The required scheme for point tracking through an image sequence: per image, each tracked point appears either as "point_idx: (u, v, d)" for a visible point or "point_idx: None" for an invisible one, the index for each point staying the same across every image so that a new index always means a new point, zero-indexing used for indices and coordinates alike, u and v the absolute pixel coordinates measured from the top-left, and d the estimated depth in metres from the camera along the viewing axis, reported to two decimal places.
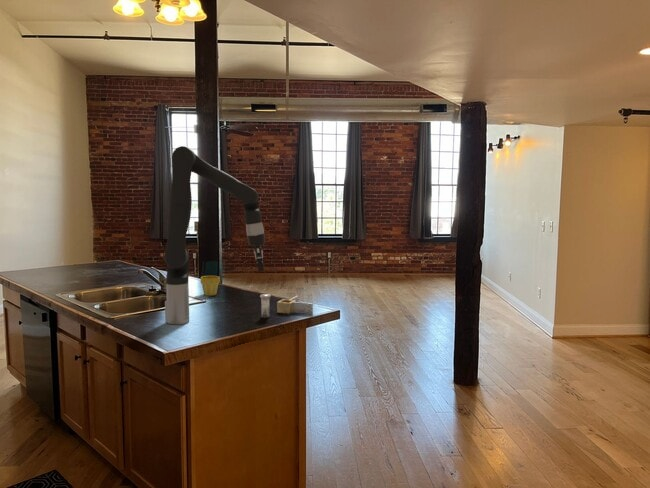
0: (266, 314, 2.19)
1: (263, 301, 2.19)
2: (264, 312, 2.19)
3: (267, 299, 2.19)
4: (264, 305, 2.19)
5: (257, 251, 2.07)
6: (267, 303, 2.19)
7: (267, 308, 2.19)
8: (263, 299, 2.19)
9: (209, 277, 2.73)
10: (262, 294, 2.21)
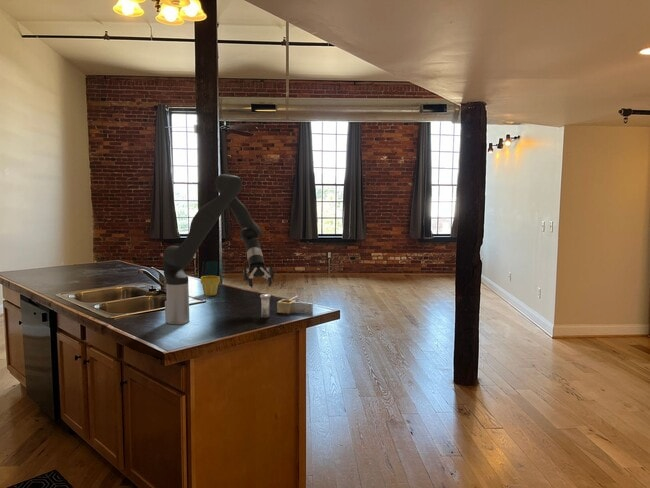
0: (266, 314, 2.19)
1: (263, 301, 2.19)
2: (264, 312, 2.19)
3: (267, 299, 2.19)
4: (264, 305, 2.19)
5: None
6: (267, 303, 2.19)
7: (267, 308, 2.19)
8: (263, 299, 2.19)
9: (209, 277, 2.73)
10: (262, 294, 2.21)
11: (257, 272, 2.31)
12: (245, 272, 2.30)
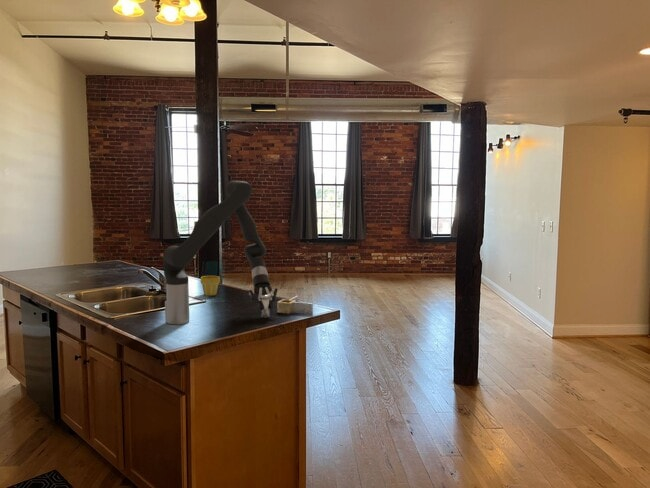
0: (266, 314, 2.19)
1: (263, 301, 2.19)
2: (264, 312, 2.19)
3: (267, 299, 2.19)
4: (264, 305, 2.19)
5: (276, 292, 2.26)
6: (267, 303, 2.19)
7: (267, 308, 2.19)
8: (263, 299, 2.19)
9: (209, 277, 2.73)
10: (262, 294, 2.21)
11: (263, 291, 2.23)
12: (253, 294, 2.21)
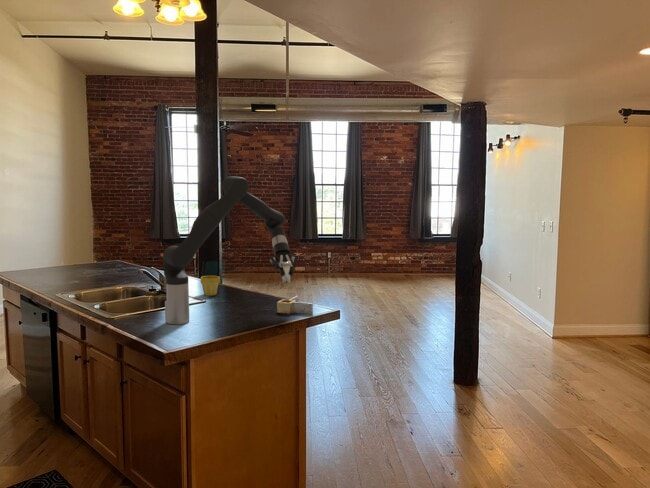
0: (287, 280, 2.27)
1: (284, 267, 2.27)
2: (285, 278, 2.27)
3: (288, 265, 2.27)
4: (285, 271, 2.27)
5: (296, 259, 2.34)
6: (288, 269, 2.27)
7: (288, 274, 2.28)
8: (284, 265, 2.27)
9: (209, 277, 2.73)
10: (283, 261, 2.30)
11: (284, 259, 2.31)
12: (274, 261, 2.29)
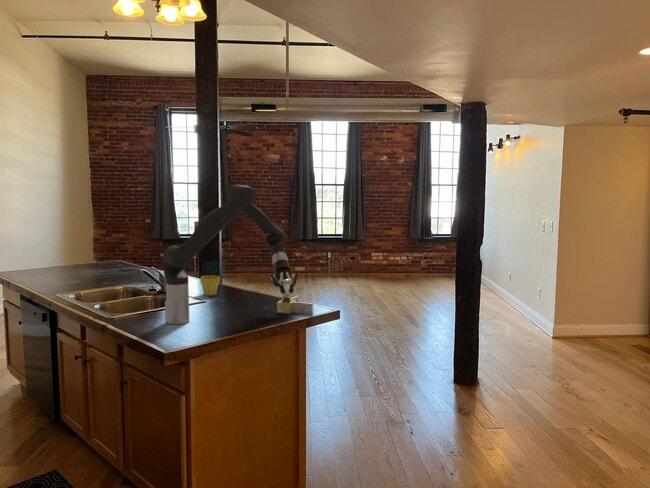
0: (287, 297, 2.28)
1: (284, 285, 2.28)
2: (285, 295, 2.28)
3: (288, 283, 2.28)
4: (285, 289, 2.28)
5: (296, 276, 2.35)
6: (288, 287, 2.28)
7: (288, 292, 2.28)
8: (284, 283, 2.28)
9: (209, 277, 2.73)
10: None
11: (284, 276, 2.32)
12: (274, 279, 2.30)
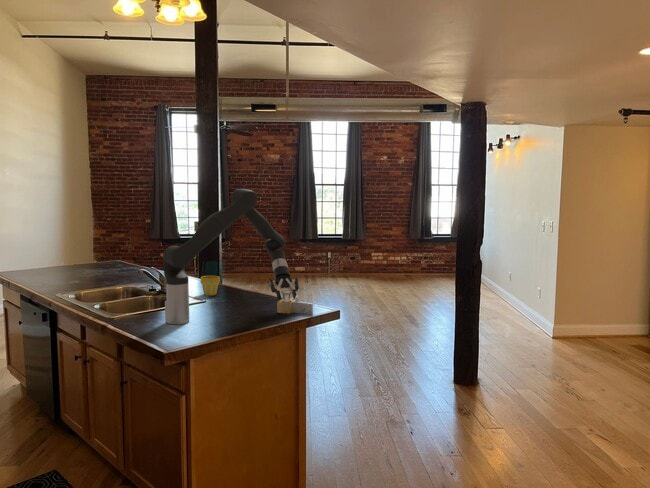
0: None
1: (284, 296, 2.29)
2: None
3: (288, 294, 2.29)
4: (285, 300, 2.29)
5: None
6: (288, 298, 2.29)
7: None
8: (284, 294, 2.29)
9: (209, 277, 2.73)
10: (283, 290, 2.31)
11: (283, 283, 2.32)
12: (272, 284, 2.30)
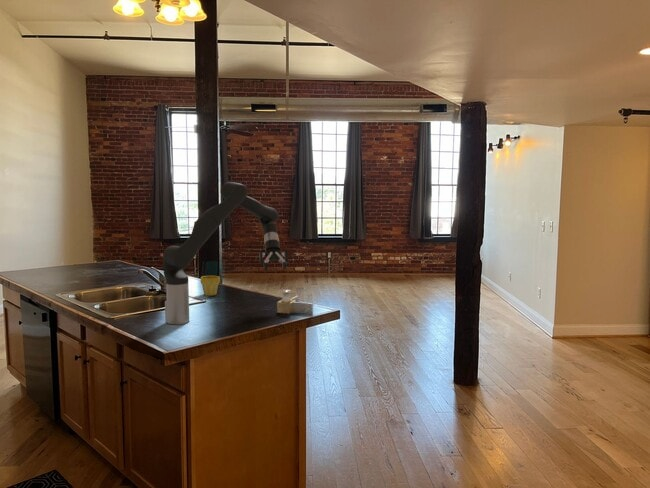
0: None
1: (284, 296, 2.29)
2: None
3: (288, 294, 2.29)
4: (285, 300, 2.29)
5: None
6: (288, 298, 2.29)
7: None
8: (284, 294, 2.29)
9: (209, 277, 2.73)
10: (283, 290, 2.32)
11: (272, 256, 2.41)
12: (261, 256, 2.40)
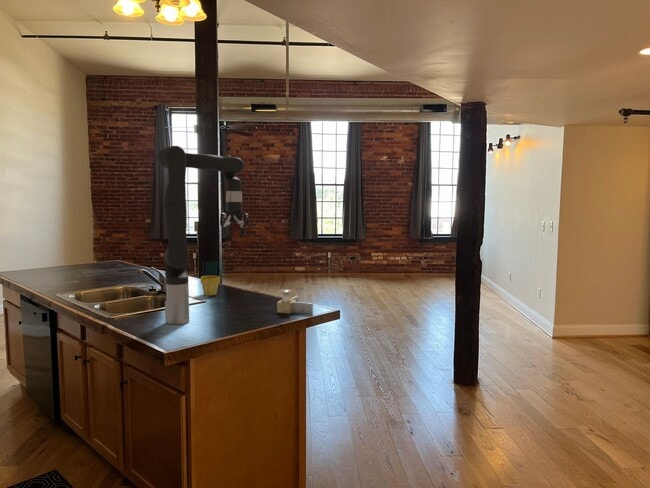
0: None
1: (284, 296, 2.29)
2: None
3: (288, 294, 2.29)
4: (285, 300, 2.29)
5: (246, 216, 2.26)
6: (288, 298, 2.29)
7: None
8: (284, 294, 2.29)
9: (209, 277, 2.73)
10: (283, 290, 2.32)
11: (232, 220, 2.28)
12: (221, 219, 2.30)
